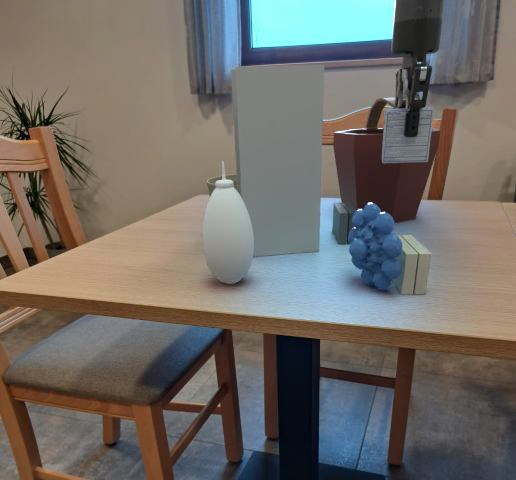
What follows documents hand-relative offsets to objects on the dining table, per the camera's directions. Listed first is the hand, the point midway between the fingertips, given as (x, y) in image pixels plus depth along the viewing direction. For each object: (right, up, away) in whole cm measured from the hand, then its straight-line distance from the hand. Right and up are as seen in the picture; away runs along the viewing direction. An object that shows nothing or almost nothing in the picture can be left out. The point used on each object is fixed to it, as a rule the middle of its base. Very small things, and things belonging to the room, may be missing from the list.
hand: (406, 135), depth 82 cm
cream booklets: (-4, -28, -11) cm, 30 cm away
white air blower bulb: (-31, -27, -8) cm, 42 cm away
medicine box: (0, -4, +2) cm, 5 cm away
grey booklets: (-9, -15, +13) cm, 22 cm away
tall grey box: (-22, -19, +6) cm, 30 cm away
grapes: (-10, -28, -12) cm, 33 cm away
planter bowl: (-29, -11, +22) cm, 38 cm away
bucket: (+2, -6, +29) cm, 30 cm away
